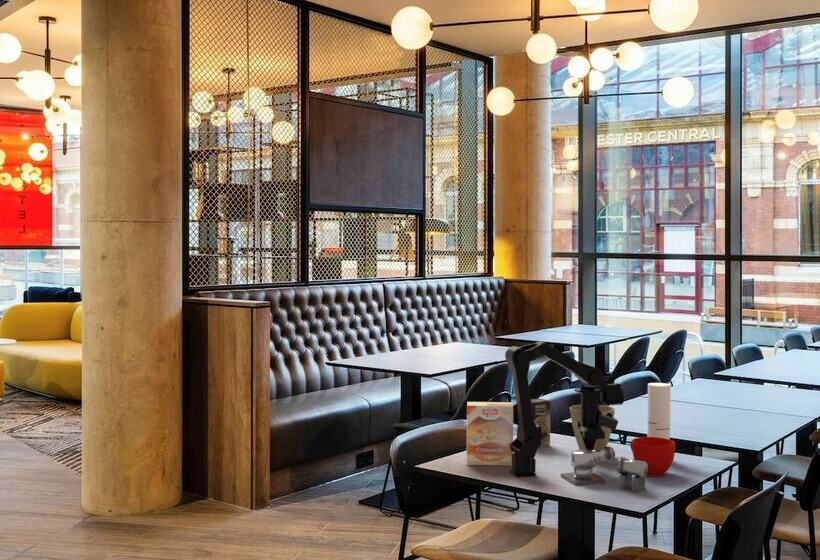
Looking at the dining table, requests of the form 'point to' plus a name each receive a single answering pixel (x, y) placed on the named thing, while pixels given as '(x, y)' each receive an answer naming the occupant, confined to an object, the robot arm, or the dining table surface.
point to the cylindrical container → (658, 410)
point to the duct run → (632, 468)
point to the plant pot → (574, 417)
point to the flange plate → (582, 481)
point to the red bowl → (654, 453)
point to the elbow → (591, 457)
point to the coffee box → (542, 418)
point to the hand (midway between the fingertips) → (589, 455)
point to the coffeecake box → (489, 433)
